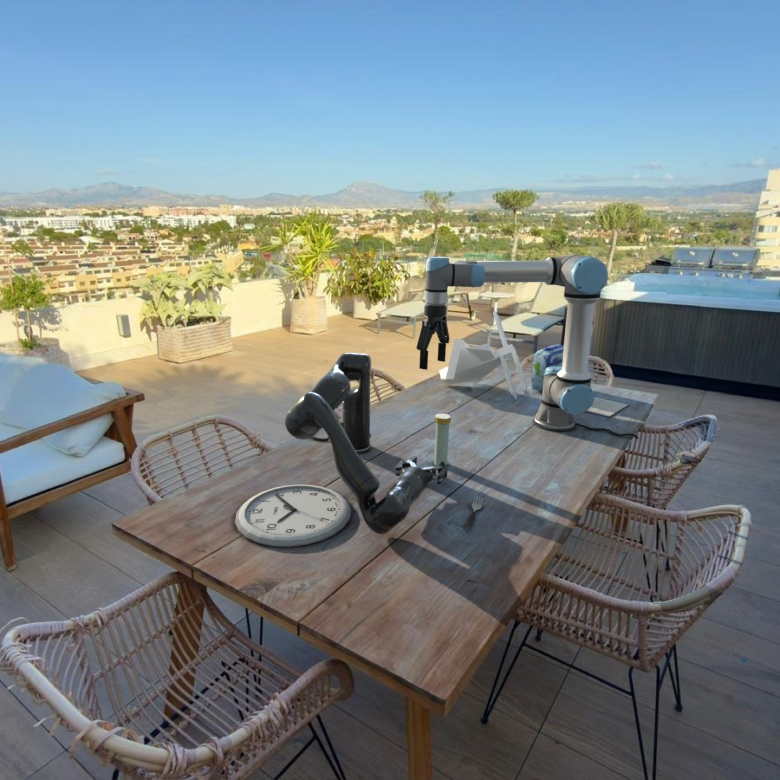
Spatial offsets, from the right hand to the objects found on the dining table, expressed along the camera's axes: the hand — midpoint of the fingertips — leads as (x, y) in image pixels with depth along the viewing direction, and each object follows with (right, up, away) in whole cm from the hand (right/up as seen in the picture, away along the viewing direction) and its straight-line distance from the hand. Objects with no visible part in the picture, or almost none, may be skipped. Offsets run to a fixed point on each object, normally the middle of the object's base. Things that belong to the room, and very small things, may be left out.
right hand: (432, 365), depth 183 cm
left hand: (-3, -30, -27) cm, 40 cm away
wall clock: (-40, -42, -45) cm, 73 cm away
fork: (+7, -42, -44) cm, 62 cm away
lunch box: (+62, -8, +67) cm, 92 cm away
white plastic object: (+27, -10, +60) cm, 67 cm away
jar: (+1, -33, -14) cm, 36 cm away
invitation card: (+77, -16, +43) cm, 90 cm away
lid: (+2, -17, -19) cm, 26 cm away
